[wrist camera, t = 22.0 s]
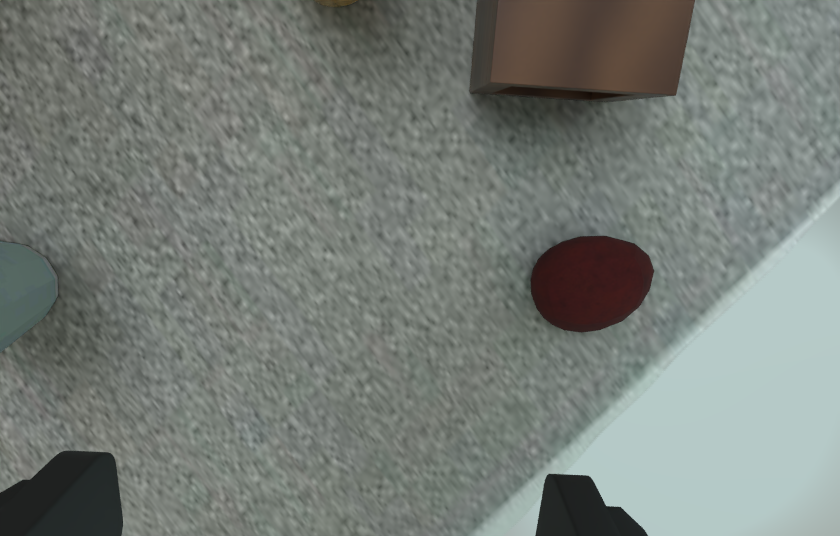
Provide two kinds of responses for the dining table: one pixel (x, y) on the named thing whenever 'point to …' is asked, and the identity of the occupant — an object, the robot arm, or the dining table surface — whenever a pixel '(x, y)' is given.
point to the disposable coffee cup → (23, 290)
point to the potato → (590, 282)
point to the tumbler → (335, 2)
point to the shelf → (580, 48)
